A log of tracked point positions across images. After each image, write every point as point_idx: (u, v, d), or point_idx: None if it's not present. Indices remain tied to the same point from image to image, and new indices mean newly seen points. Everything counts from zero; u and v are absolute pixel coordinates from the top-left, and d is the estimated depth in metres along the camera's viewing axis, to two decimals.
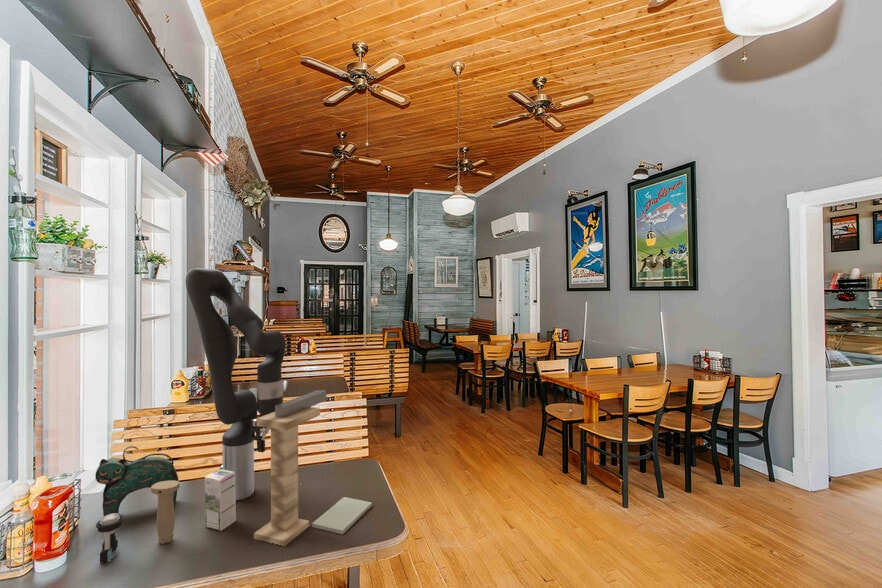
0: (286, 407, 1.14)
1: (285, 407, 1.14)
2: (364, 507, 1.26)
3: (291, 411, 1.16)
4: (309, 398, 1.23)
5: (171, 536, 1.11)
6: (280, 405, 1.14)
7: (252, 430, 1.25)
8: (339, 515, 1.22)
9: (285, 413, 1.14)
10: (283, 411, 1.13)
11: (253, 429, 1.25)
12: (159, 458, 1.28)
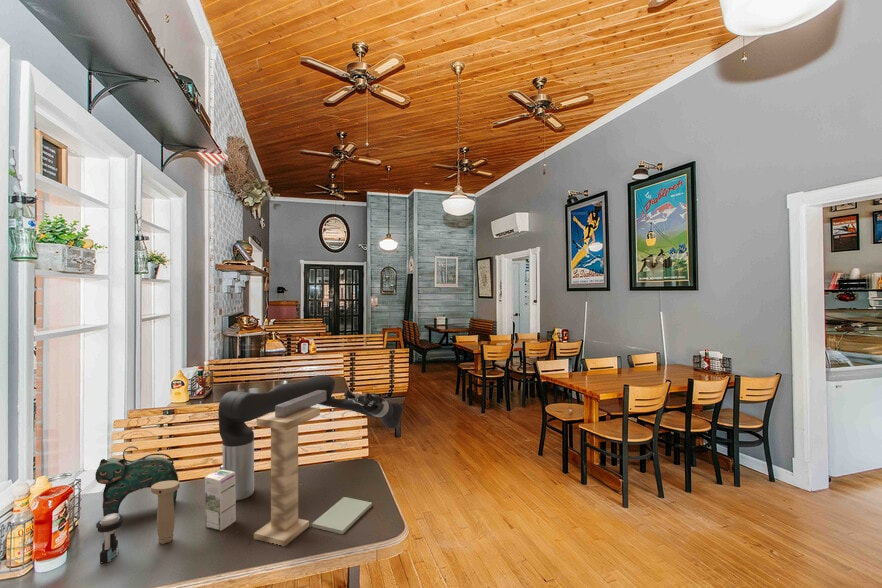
0: (286, 407, 1.14)
1: (285, 407, 1.14)
2: (364, 507, 1.26)
3: (291, 411, 1.16)
4: (309, 398, 1.23)
5: (171, 536, 1.11)
6: (280, 405, 1.14)
7: (382, 399, 1.53)
8: (339, 515, 1.22)
9: (285, 413, 1.14)
10: (283, 411, 1.13)
11: (382, 401, 1.53)
12: (159, 458, 1.28)
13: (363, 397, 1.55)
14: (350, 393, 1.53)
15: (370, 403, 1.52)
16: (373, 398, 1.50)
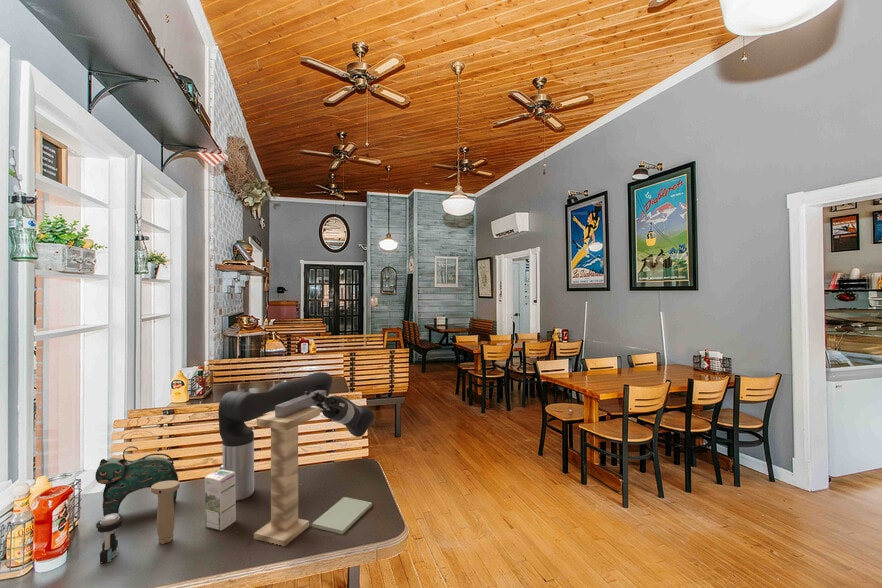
0: (286, 407, 1.14)
1: (285, 407, 1.14)
2: (364, 507, 1.26)
3: (291, 411, 1.16)
4: (309, 398, 1.23)
5: (171, 536, 1.11)
6: (280, 405, 1.14)
7: (337, 401, 1.30)
8: (339, 515, 1.22)
9: (285, 413, 1.14)
10: (283, 411, 1.13)
11: (338, 402, 1.30)
12: (159, 458, 1.28)
13: None
14: None
15: (324, 406, 1.30)
16: None
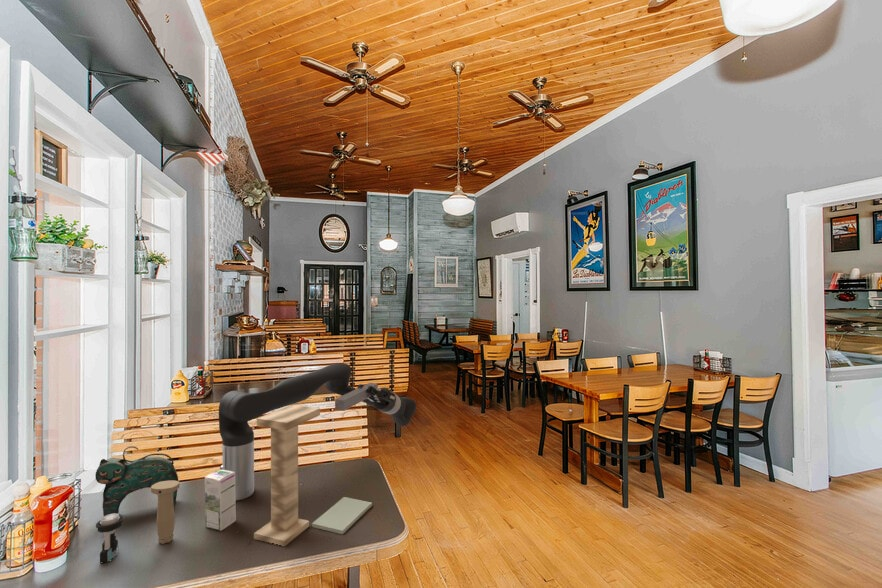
0: (345, 401, 1.20)
1: (345, 401, 1.20)
2: (364, 507, 1.26)
3: (349, 405, 1.22)
4: (364, 391, 1.29)
5: (171, 536, 1.11)
6: (340, 399, 1.21)
7: (388, 394, 1.36)
8: (339, 515, 1.22)
9: (344, 406, 1.20)
10: (343, 404, 1.20)
11: (389, 395, 1.36)
12: (159, 458, 1.28)
13: None
14: None
15: (375, 398, 1.36)
16: (375, 392, 1.34)
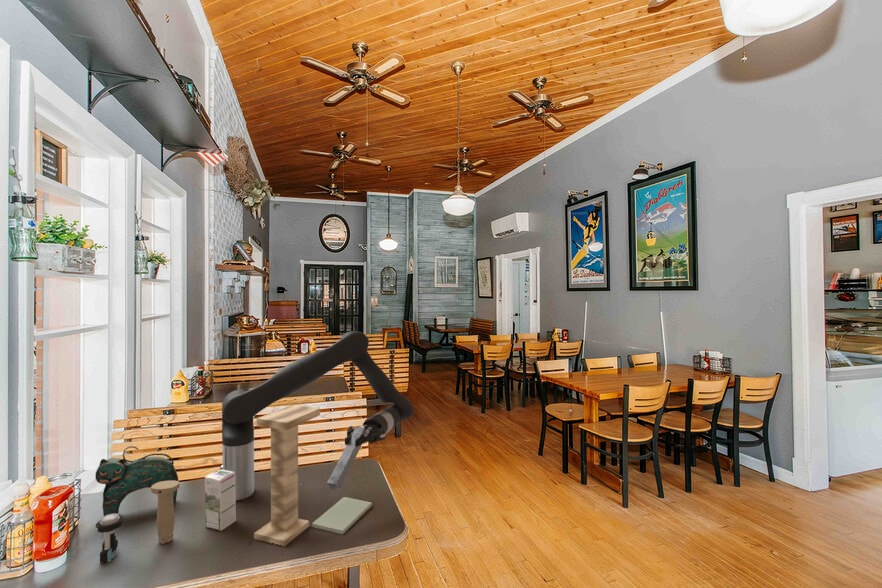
0: (338, 481, 1.18)
1: (337, 482, 1.18)
2: (364, 507, 1.26)
3: (343, 478, 1.21)
4: (353, 451, 1.26)
5: (171, 536, 1.11)
6: (331, 480, 1.18)
7: (378, 435, 1.32)
8: (339, 515, 1.22)
9: (339, 486, 1.19)
10: (336, 486, 1.18)
11: (378, 436, 1.32)
12: (159, 458, 1.28)
13: None
14: None
15: None
16: None
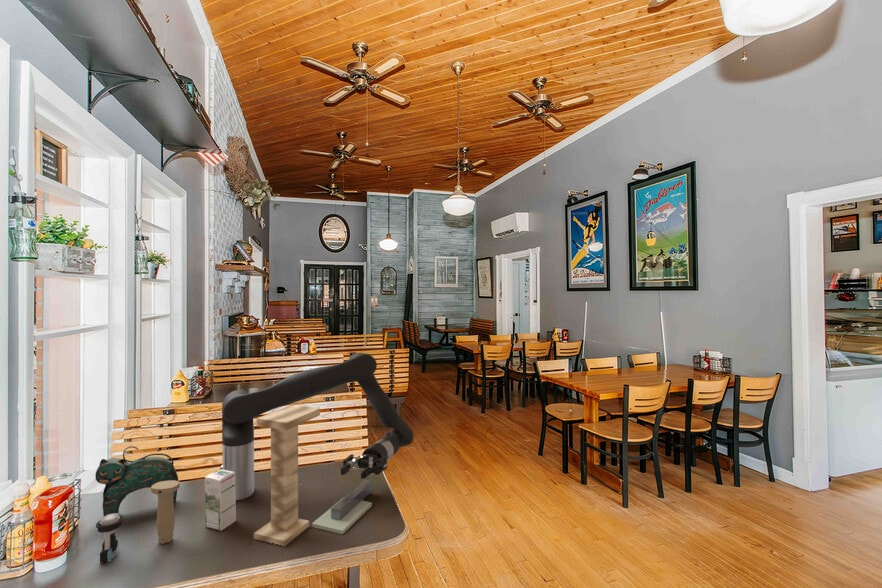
0: (342, 509, 1.20)
1: (341, 510, 1.20)
2: (364, 507, 1.26)
3: (345, 512, 1.22)
4: (359, 494, 1.29)
5: (171, 536, 1.11)
6: (336, 507, 1.20)
7: (382, 465, 1.32)
8: None
9: (340, 516, 1.20)
10: (339, 514, 1.19)
11: (383, 466, 1.32)
12: (159, 458, 1.28)
13: (362, 463, 1.34)
14: (347, 466, 1.31)
15: None
16: (370, 471, 1.29)
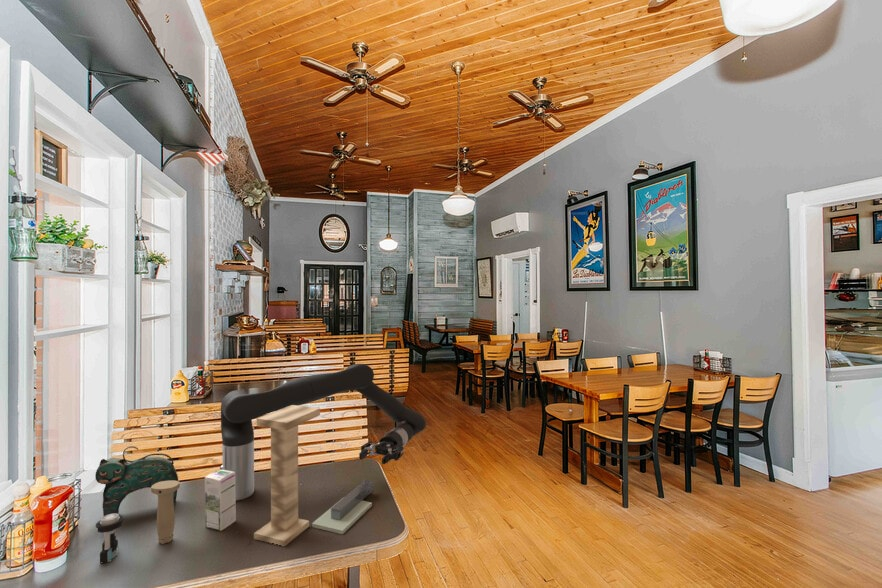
0: (342, 509, 1.20)
1: (341, 510, 1.20)
2: (364, 507, 1.26)
3: (345, 512, 1.22)
4: (359, 494, 1.29)
5: (171, 536, 1.11)
6: (336, 507, 1.20)
7: (400, 452, 1.43)
8: None
9: (340, 516, 1.20)
10: (339, 514, 1.19)
11: (400, 452, 1.44)
12: (159, 458, 1.28)
13: (380, 450, 1.45)
14: (365, 452, 1.43)
15: None
16: (391, 457, 1.41)
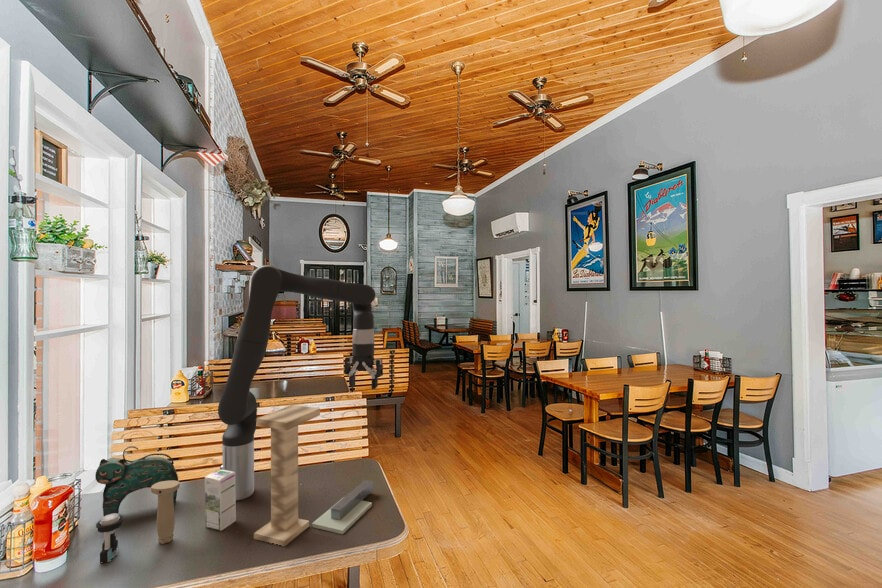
0: (342, 509, 1.20)
1: (341, 510, 1.20)
2: (364, 507, 1.26)
3: (345, 512, 1.22)
4: (359, 494, 1.29)
5: (171, 536, 1.11)
6: (336, 507, 1.20)
7: (380, 368, 1.44)
8: None
9: (340, 516, 1.20)
10: (339, 514, 1.19)
11: (380, 367, 1.44)
12: (159, 458, 1.28)
13: None
14: (352, 379, 1.48)
15: None
16: (376, 378, 1.45)
